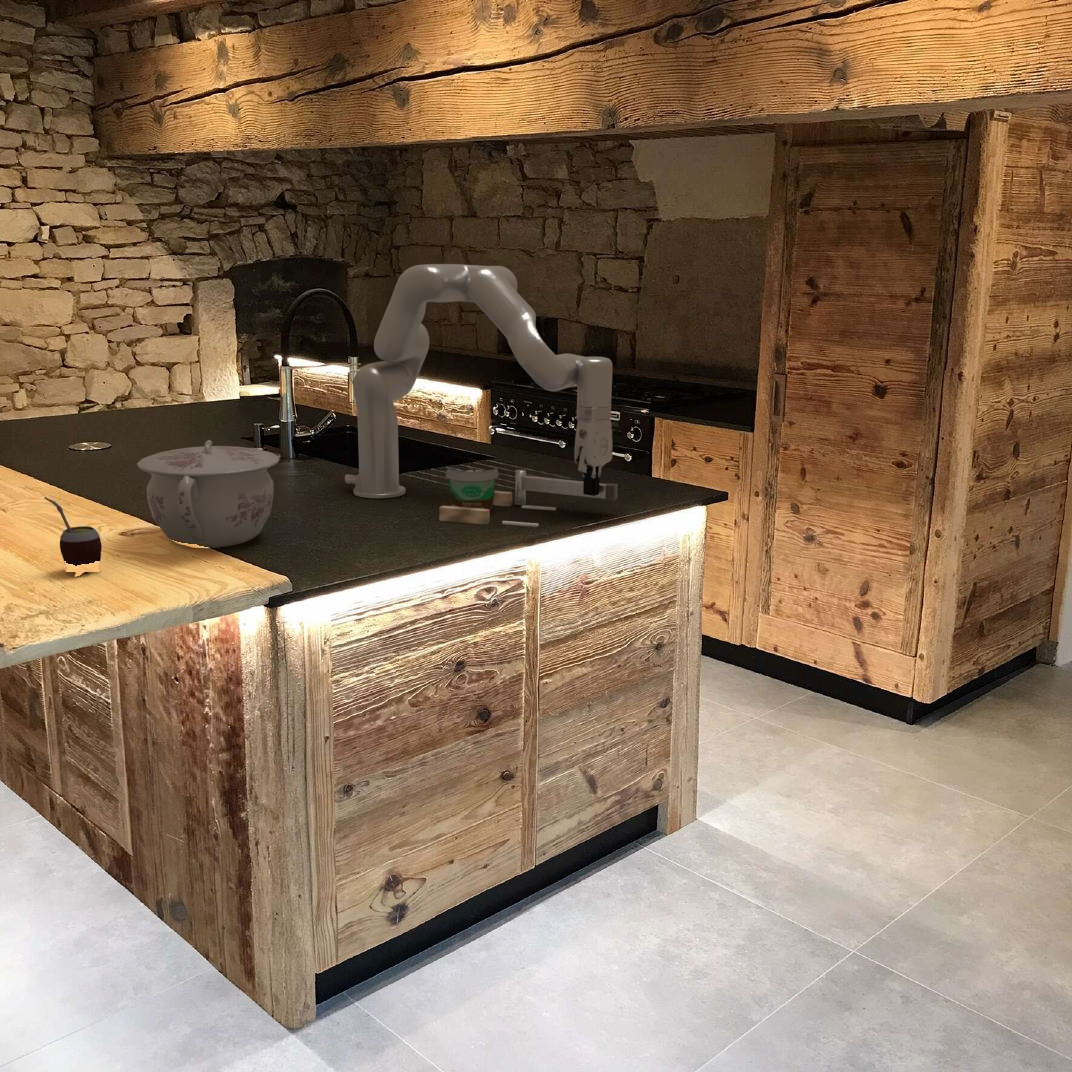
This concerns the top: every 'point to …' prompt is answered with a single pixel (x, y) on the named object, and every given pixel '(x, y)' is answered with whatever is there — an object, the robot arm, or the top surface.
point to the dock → (474, 510)
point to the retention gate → (557, 487)
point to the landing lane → (529, 523)
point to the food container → (472, 488)
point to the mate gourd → (79, 542)
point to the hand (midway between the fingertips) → (591, 494)
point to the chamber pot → (210, 493)
